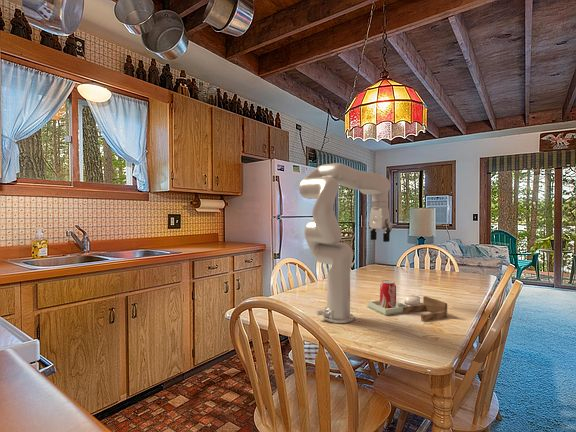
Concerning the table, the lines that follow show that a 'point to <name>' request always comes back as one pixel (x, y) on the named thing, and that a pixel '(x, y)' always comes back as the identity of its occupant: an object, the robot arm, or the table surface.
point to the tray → (390, 311)
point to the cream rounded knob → (412, 300)
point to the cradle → (429, 309)
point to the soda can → (388, 294)
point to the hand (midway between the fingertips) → (379, 240)
